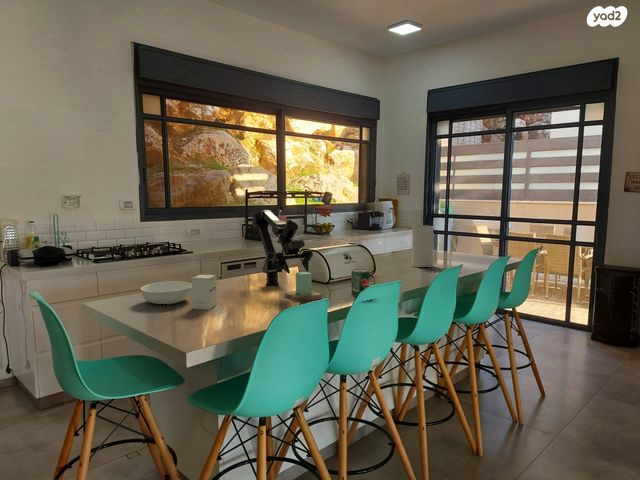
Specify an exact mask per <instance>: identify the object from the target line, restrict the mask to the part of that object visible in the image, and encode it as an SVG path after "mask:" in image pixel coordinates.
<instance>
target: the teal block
mask: <svg viewBox="0 0 640 480" xmlns="http://www.w3.org/2000/svg"><path fill="white" fill-rule="evenodd" d="M312 275H313V274H312V273H311V272H309V271H308V272H307V271H301V272H295V291H296V293H297V294H300V295H307V294H312V291H313V290H312V285H313V284H312V279H313V278H312V277H313V276H312Z"/></svg>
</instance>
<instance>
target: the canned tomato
mask: <svg viewBox="0 0 640 480" xmlns="http://www.w3.org/2000/svg"><path fill="white" fill-rule="evenodd" d="M367 287H369V288H370V270H369V269H365V268H355V269H351V295H352V296H353V297H355V296H356V297H358V296H357V295H358V294H359V293H360V292H361V291H363V290H364V289H366V288H367Z"/></svg>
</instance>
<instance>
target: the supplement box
mask: <svg viewBox="0 0 640 480" xmlns="http://www.w3.org/2000/svg"><path fill="white" fill-rule="evenodd" d="M191 283H192V293H191V306H192V307H191V308H192V309H193V310H207V311H208V310H210V309H212V308H213V307H215V306H217V275H215V274H199V275H195V276H193V277H191Z"/></svg>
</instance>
